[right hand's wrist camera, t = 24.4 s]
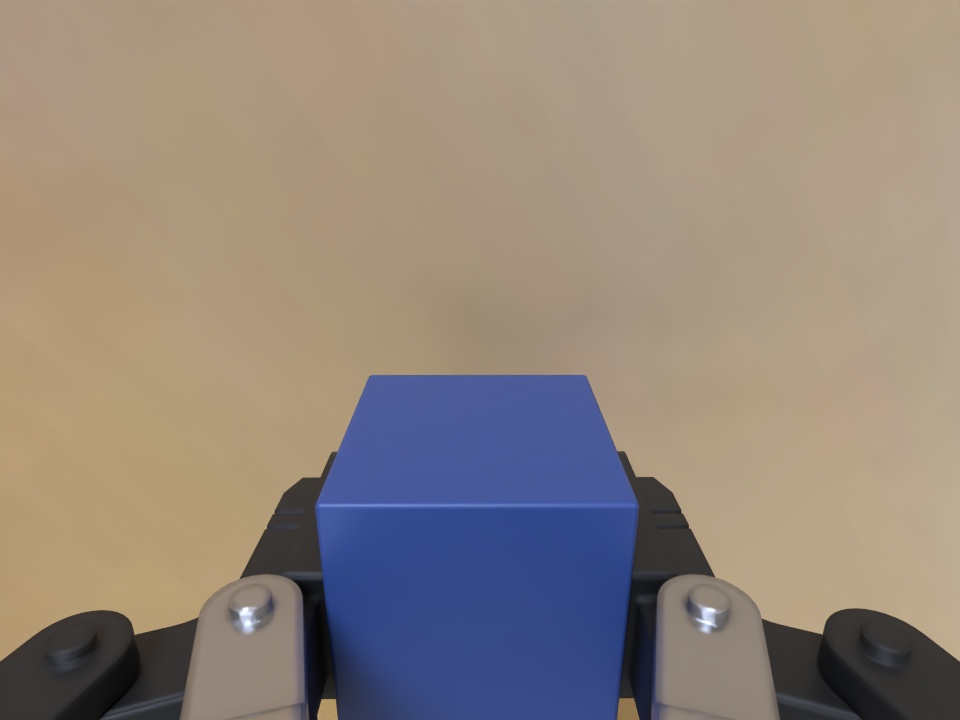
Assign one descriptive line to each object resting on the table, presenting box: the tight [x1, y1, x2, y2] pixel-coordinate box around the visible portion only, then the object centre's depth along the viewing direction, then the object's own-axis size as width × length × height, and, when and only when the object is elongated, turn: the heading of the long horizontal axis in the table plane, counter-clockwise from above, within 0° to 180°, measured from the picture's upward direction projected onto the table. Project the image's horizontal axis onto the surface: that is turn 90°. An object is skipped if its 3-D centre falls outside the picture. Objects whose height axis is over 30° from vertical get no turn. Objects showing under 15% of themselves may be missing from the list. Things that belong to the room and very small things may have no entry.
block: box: [315, 375, 639, 720], centre depth 11 cm, size 5×4×4 cm
